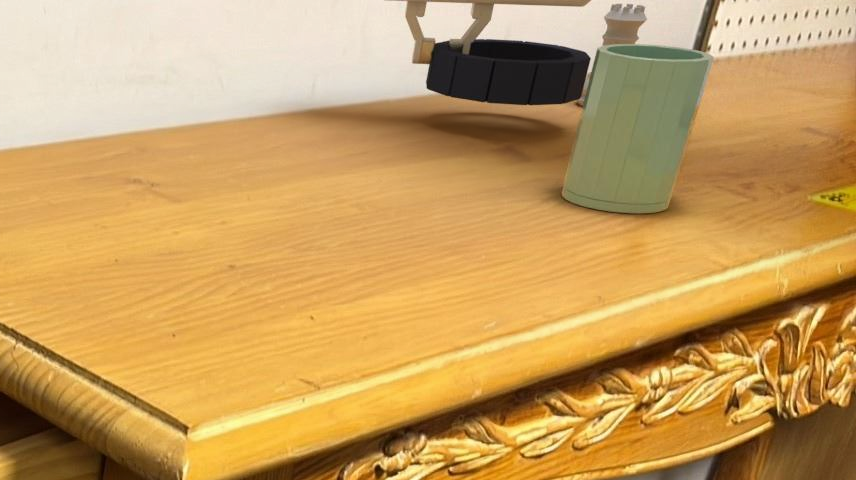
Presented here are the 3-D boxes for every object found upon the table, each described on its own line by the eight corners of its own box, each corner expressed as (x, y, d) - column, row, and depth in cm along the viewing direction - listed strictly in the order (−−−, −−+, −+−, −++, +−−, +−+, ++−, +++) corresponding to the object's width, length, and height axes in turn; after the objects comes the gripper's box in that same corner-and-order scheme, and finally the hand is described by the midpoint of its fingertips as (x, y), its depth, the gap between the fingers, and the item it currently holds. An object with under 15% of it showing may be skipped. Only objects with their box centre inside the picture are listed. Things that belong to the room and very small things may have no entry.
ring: (569, 82, 99) (579, 43, 97) (588, 109, 90) (599, 66, 88) (424, 74, 102) (431, 36, 100) (428, 99, 92) (436, 57, 91)
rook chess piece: (621, 113, 102) (649, 10, 98) (566, 105, 104) (591, 5, 100) (638, 105, 105) (665, 5, 101) (584, 98, 107) (609, 0, 103)
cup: (657, 192, 80) (700, 47, 75) (677, 217, 74) (724, 63, 70) (555, 184, 81) (591, 41, 77) (567, 208, 76) (606, 57, 72)
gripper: (326, -134, 89) (301, 64, 96) (632, -132, 84) (582, 77, 91) (329, -136, 95) (305, 51, 101) (618, -135, 89) (572, 63, 96)
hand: (438, 63), depth 96 cm, fingers closed on ring
